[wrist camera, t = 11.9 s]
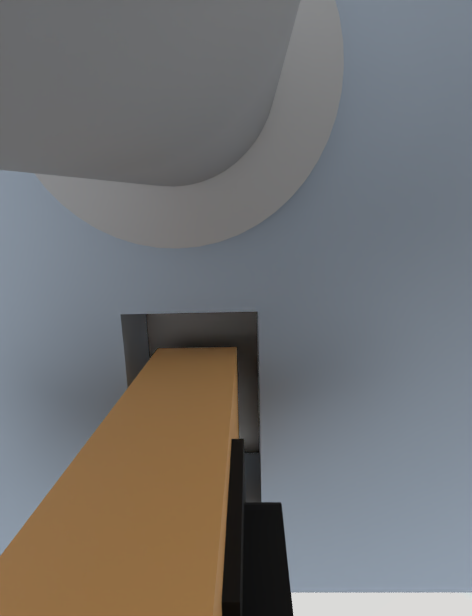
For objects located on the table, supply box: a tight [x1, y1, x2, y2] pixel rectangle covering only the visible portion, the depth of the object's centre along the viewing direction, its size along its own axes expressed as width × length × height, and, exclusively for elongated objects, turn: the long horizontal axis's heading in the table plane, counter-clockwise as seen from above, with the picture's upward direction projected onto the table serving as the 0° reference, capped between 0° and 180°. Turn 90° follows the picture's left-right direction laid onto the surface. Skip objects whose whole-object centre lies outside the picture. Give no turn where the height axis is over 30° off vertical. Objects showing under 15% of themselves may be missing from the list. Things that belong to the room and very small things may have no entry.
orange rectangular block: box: [0, 347, 239, 616], centre depth 9 cm, size 2×4×10 cm, turn 2°
